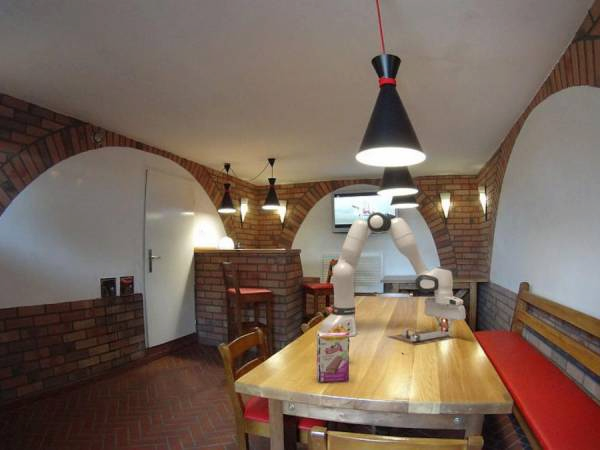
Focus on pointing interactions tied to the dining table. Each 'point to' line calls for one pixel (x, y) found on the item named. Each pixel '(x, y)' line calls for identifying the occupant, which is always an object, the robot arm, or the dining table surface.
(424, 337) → the lever
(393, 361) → the dining table surface
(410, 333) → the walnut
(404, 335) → the nutcracker base
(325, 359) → the candy bar box
